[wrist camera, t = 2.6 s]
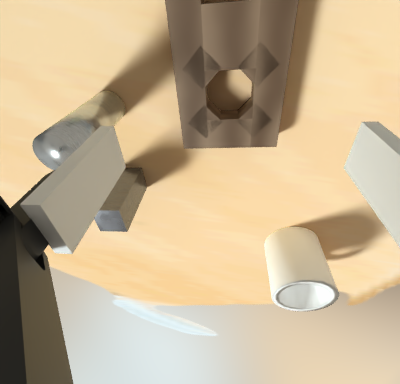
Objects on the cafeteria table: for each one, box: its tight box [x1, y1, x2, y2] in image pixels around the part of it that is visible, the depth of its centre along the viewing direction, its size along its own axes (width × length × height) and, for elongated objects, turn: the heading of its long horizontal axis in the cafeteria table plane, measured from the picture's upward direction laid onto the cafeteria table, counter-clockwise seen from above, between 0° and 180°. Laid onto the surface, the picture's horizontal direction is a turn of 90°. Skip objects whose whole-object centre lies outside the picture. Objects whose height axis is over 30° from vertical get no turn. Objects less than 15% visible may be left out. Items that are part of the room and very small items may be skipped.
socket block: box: [165, 0, 299, 148], centre depth 24 cm, size 12×24×3 cm, turn 4°
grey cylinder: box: [33, 91, 125, 170], centre depth 26 cm, size 4×4×13 cm
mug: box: [264, 227, 339, 311], centre depth 42 cm, size 14×10×11 cm
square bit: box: [94, 168, 147, 232], centre depth 35 cm, size 4×4×10 cm
